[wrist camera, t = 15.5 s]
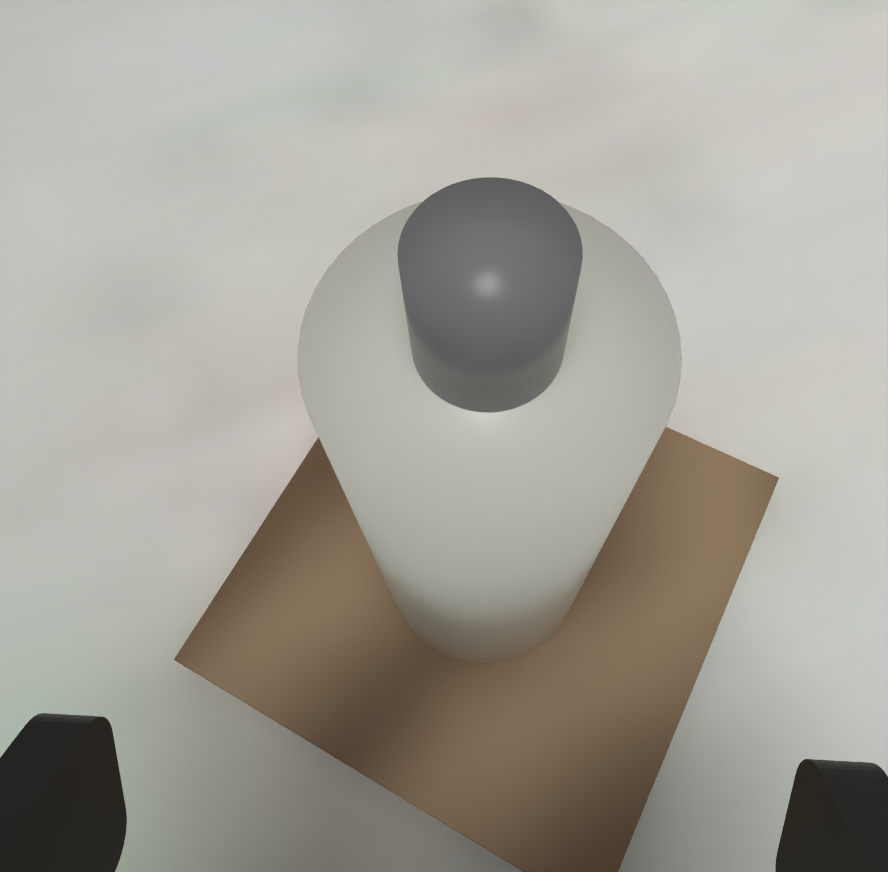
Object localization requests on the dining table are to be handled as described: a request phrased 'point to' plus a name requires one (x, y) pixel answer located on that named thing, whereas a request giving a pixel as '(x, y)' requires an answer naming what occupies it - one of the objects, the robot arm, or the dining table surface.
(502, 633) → the bottle
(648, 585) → the walnut board
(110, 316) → the dining table surface
